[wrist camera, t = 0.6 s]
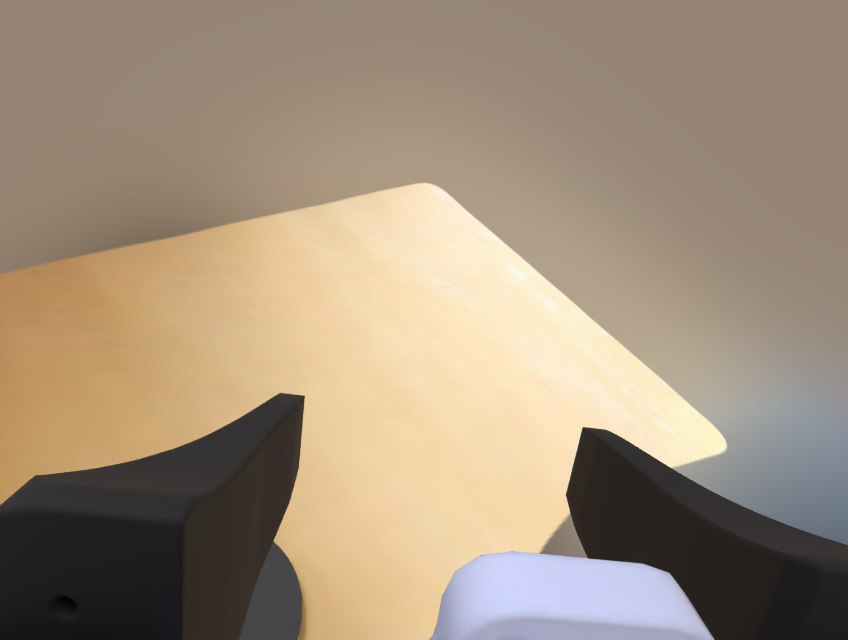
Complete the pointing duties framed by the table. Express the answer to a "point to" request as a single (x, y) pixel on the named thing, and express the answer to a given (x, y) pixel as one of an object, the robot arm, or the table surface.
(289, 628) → the coaster
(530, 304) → the table surface
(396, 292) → the table surface
